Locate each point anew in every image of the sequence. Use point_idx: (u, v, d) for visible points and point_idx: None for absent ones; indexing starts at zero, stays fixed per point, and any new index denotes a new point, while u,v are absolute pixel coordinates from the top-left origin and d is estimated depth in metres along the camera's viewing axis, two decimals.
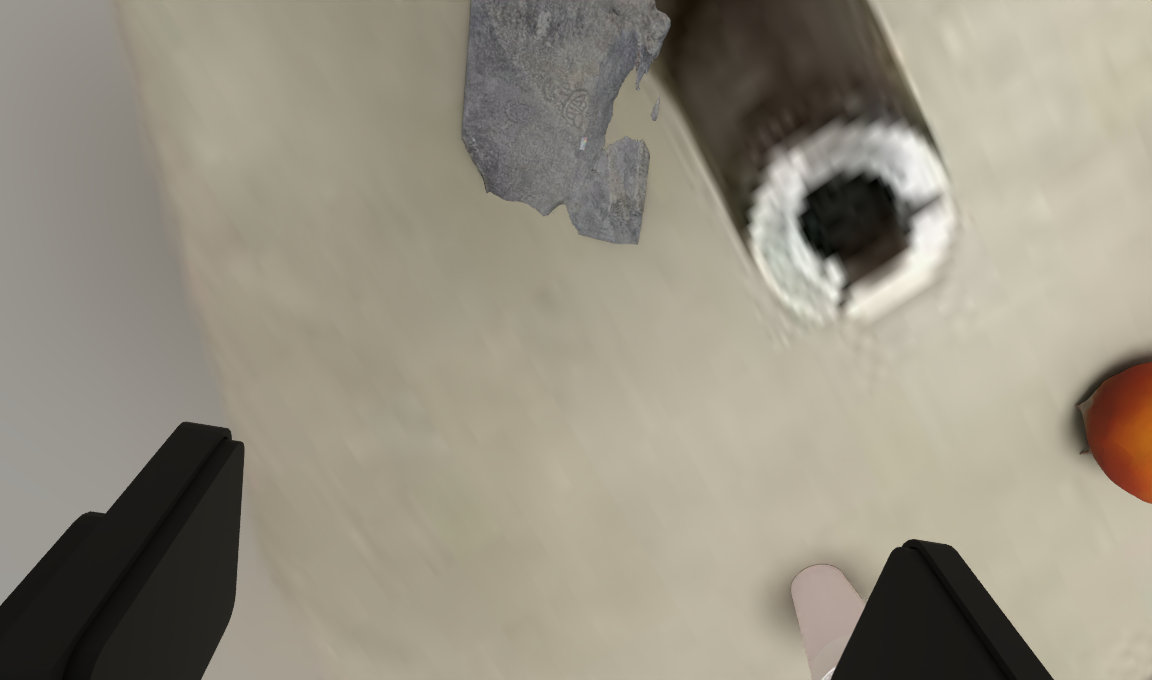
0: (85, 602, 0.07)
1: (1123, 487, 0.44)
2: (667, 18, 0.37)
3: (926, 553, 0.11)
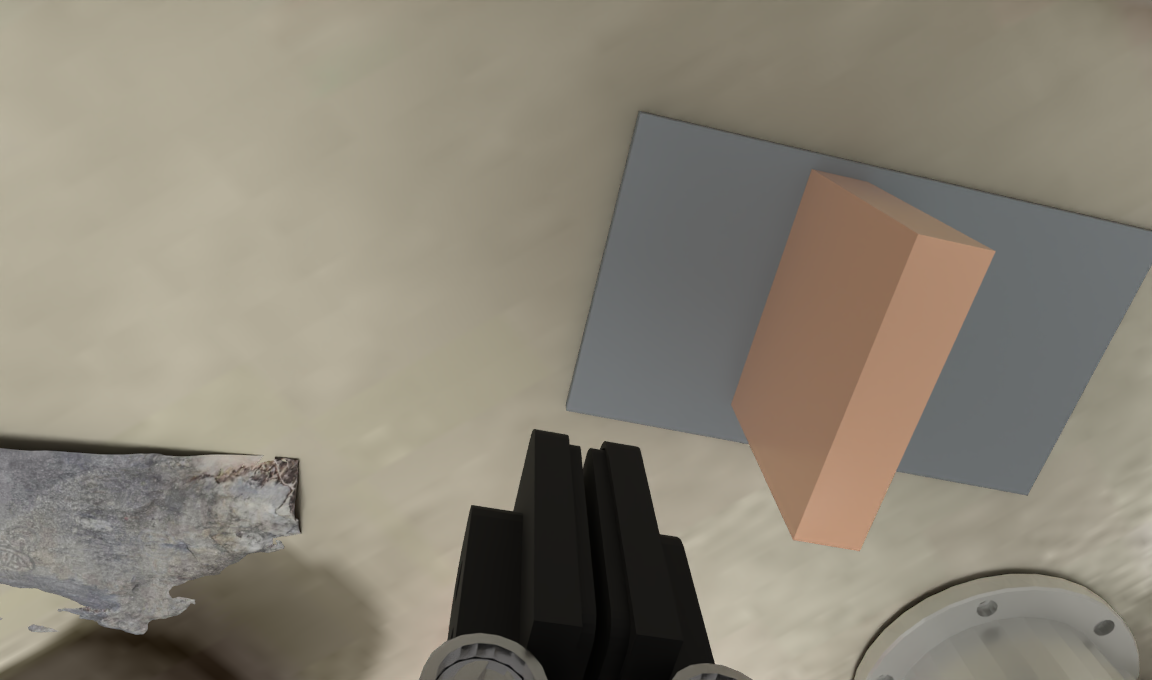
0: (568, 576, 0.08)
1: None
2: (144, 631, 0.33)
3: (608, 452, 0.11)
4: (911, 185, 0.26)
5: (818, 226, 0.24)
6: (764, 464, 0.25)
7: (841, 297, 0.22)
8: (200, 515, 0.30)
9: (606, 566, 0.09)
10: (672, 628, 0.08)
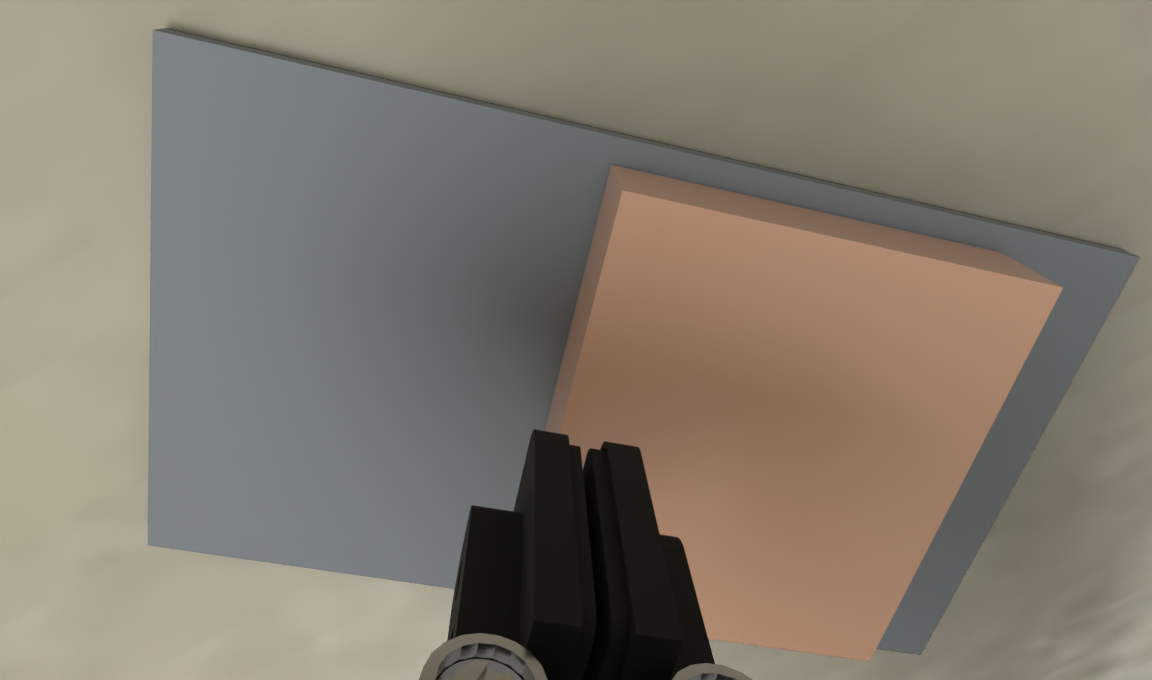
0: (568, 576, 0.08)
1: None
2: None
3: (608, 452, 0.11)
4: (686, 169, 0.14)
5: (722, 295, 0.13)
6: (725, 631, 0.16)
7: (871, 390, 0.14)
8: None
9: (606, 566, 0.09)
10: (672, 628, 0.08)
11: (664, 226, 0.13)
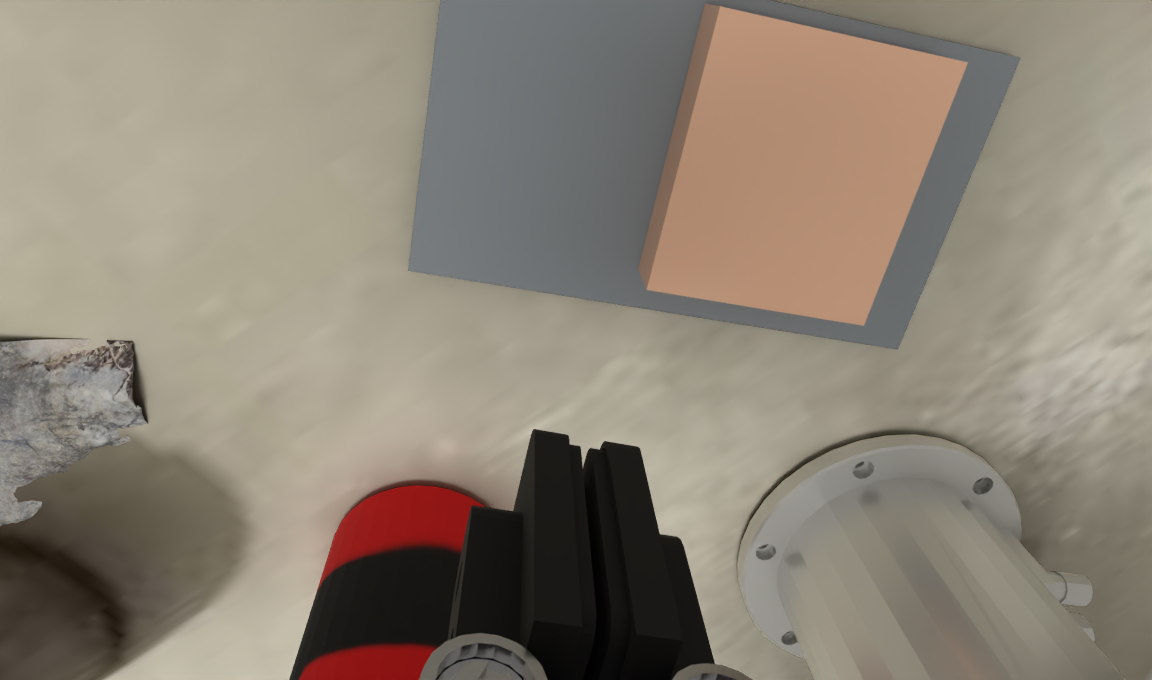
0: (569, 576, 0.08)
1: None
2: None
3: (608, 452, 0.11)
4: (748, 5, 0.24)
5: (774, 71, 0.23)
6: (775, 303, 0.27)
7: (860, 131, 0.24)
8: (33, 406, 0.29)
9: (606, 566, 0.09)
10: (673, 628, 0.08)
11: (742, 27, 0.23)
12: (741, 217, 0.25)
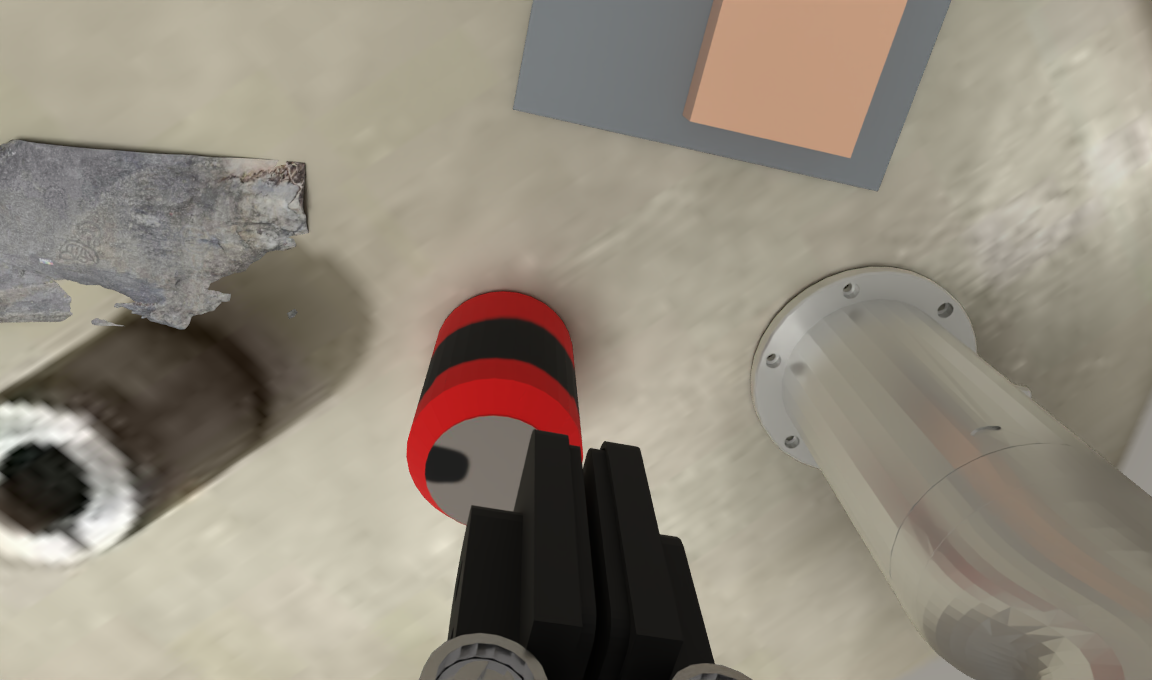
0: (568, 575, 0.08)
1: None
2: (184, 326, 0.41)
3: (608, 452, 0.11)
4: None
5: None
6: (784, 136, 0.36)
7: (847, 1, 0.34)
8: (228, 211, 0.38)
9: (606, 566, 0.09)
10: (672, 628, 0.08)
11: None
12: (760, 66, 0.35)
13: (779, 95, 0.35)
